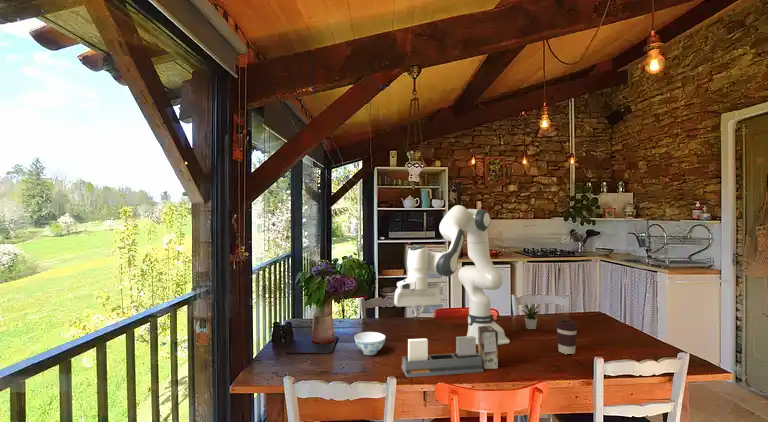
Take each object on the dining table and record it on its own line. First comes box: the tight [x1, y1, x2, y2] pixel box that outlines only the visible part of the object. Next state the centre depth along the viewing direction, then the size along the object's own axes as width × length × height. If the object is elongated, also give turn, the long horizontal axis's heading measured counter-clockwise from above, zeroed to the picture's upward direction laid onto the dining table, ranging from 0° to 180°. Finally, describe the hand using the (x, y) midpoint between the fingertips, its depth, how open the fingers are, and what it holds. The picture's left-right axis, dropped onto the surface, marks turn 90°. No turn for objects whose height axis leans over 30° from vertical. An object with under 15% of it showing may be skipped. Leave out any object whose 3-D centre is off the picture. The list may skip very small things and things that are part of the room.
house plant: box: [521, 301, 542, 330], centre depth 224 cm, size 14×14×16 cm
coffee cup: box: [555, 319, 579, 355], centre depth 185 cm, size 10×10×15 cm
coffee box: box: [477, 326, 499, 370], centre depth 169 cm, size 9×6×16 cm
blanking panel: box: [407, 338, 429, 361], centre depth 162 cm, size 8×2×12 cm, turn 100°
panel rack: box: [400, 335, 484, 378], centre depth 163 cm, size 34×10×14 cm, turn 100°
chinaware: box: [354, 331, 386, 356], centre depth 183 cm, size 15×15×8 cm
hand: (417, 315), depth 162 cm, fingers closed
